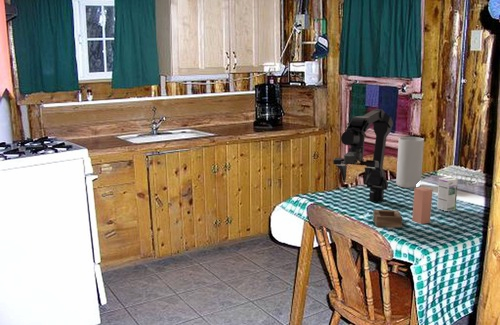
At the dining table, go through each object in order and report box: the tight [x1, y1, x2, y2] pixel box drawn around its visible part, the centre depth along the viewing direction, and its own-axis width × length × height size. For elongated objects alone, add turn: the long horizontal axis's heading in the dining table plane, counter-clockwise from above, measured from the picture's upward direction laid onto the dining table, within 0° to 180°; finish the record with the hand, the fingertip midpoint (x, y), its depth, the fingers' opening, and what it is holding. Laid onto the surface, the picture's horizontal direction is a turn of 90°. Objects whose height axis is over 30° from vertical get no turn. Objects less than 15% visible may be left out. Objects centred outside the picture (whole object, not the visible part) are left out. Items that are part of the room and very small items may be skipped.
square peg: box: [412, 186, 433, 225], centre depth 214 cm, size 5×5×14 cm
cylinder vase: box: [395, 136, 425, 189], centre depth 271 cm, size 12×12×25 cm
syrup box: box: [436, 176, 459, 212], centre depth 230 cm, size 6×6×14 cm
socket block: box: [372, 209, 403, 228], centre depth 214 cm, size 10×10×4 cm
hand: (354, 182), depth 221 cm, fingers open, 9 cm apart
